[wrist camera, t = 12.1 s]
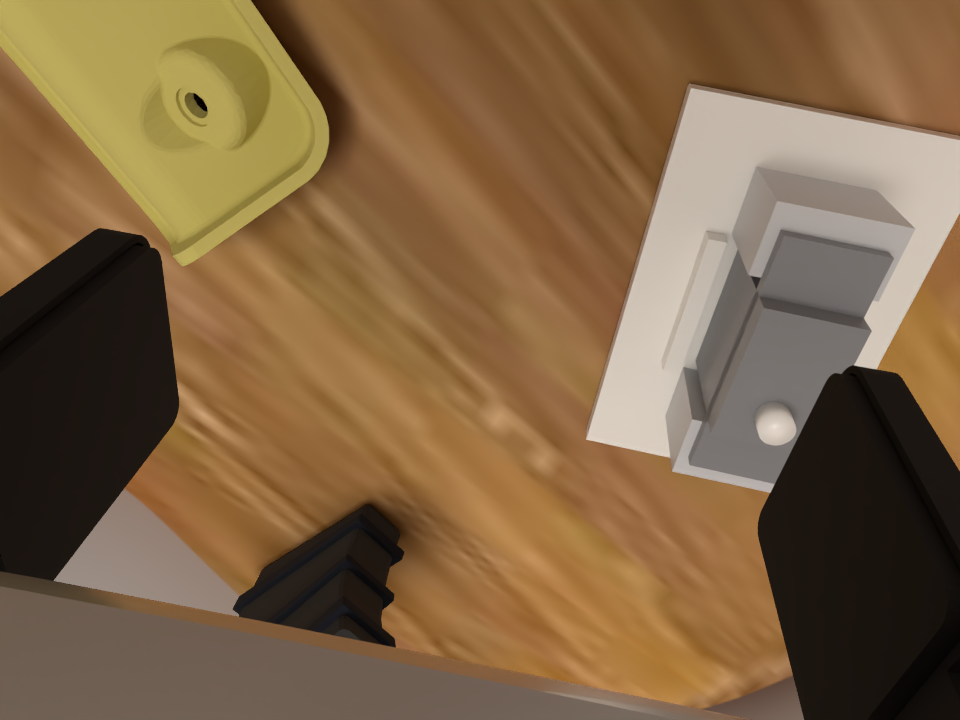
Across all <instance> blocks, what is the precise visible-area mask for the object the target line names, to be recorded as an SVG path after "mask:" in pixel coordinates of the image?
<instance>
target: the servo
mask: <svg viewBox="0 0 960 720" xmlns="http://www.w3.org/2000/svg"><path fill="white" fill-rule="evenodd" d="M893 260H894V258H893V257H892V255H891V254H890V253H889V252H886V251H881V250H876V249H871V248H867V247H862V246H857V245H852V244H847V243H843V242H838V241H833V240H828V239H823V238H818V237H814V236H809V235H804V234H799V233H794V232H789V231H785V230H780V232H779V235H778V237H777V240H776V242H775V245H774V247H773V250H772V252H771V255H770V257H769V259H768V262H767V264H766V267H765V269H764V272H763V274H762V277H761V278H760V277H755V276H750V275H748V273H747V271H746V268H745V266H744V263H743V261H742V258H741V256H740V253H739V251H738V250H737V252H736V255H735V258H734V260H733V263H732V266H731V268H730V271H729V274H728V276H727V279H726V281H725V284H724V287H723V289H722V292H721V295H720V297H719V300H718V303H717V305H716V308H715V310H714V313H713V316H712V318H711V321H710V324H709V326H708V329H707V331H706V334H705V337H704V339H703V342H702V345H701V347H700V350H699V353H698V355H697V358H696V360H695V361H696V365H697V370H698V375H699V380H700V385H701V390H702V395H703V400H704V405H705V410H706V414H705V416H704V419H703V421H702V424H701V426H700V429H699V431H698V434H697V436H696V439H695V441H694V443H693V446H692V448H691V451H690V453H689V456H688V459H689V465H691V466H695V467H700V468H704V469H709V470H713V471H718V472H723V473H727V474H732V475H736V476H741V477H745V478H750V479H754V480H759V481H763V482H768V483H772V484H775V483H776V481H777V479H778V477H779V475H780V473H781V471H782V469H783V467H784V465H785V463H786V461H787V459H788V457H789V455H790V453H791V451H792V449H793V447H794V445H795V443H796V441H797V439H798V437H799V435H800V433H801V431H802V429H803V427H804V425H805V423H806V421H807V419H808V417H809V415H810V413H811V411H812V409H813V407H814V405H815V403H816V401H817V399H818V397H819V395H820V393H821V391H822V389H823V387H824V385H825V383H826V381H827V379H828V378H829V377H830V376H831V375H832V374H834V373H839V374H842V373H843V371H844V370H846V369H847V368H848V367H850V366H852V365H854V364H855V363H856V361H857V359H858V357H859V355H860V353H861V351H862V349H863V347H864V345H865V343H866V341H867V339H868V338H869V336H870V334H871V332H872V330H871V329H870V327H869V326H868V324H867V323H866V321H865V319H864V317H865V315H866V313H867V311H868V309H869V307H870V305H871V303H872V301H873V299H874V297H875V295H876V293H877V291H878V289H879V287H880V285H881V283H882V281H883V280H884V278H885V276H886V274H887V272H888V270H889V268H890V266H891V264H892V262H893Z"/></svg>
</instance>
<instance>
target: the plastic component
mask: <svg viewBox="0 0 960 720" xmlns="http://www.w3.org/2000/svg"><path fill="white" fill-rule="evenodd" d="M0 46H1V47H2V49H3V50H4V51H5V52H6V53H7V54H8V55H9V57H10V58H11V59H12V60H13V61H14V62H15V63H16V64H17V66H18V67H19V68H20V69H21V70H22V71H23V72H24V74H25V75H26V76H27V77H28V78H29V79H30V80H31V82H32V83H33V84H34V85H35V86H36V87H37V88H38V90H39V91H40V92H41V93H42V94H43V95H44V97H45V98H46V99H47V100H48V101H49V102H50V103H51V105H52V106H53V107H54V108H55V109H56V110H57V112H58V113H59V114H60V115H61V116H62V117H63V118H64V120H65V121H66V122H67V123H68V124H69V125H70V127H71V128H72V129H73V130H74V131H75V132H76V133H77V135H78V136H79V137H80V138H81V139H82V140H83V141H84V143H85V144H86V145H87V146H88V147H89V148H90V150H91V151H92V152H93V153H94V154H95V155H96V156H97V158H98V159H99V160H100V161H101V162H102V163H103V165H104V166H105V167H106V168H107V169H108V170H109V171H110V173H111V174H112V175H113V176H114V177H115V178H116V180H117V181H118V182H119V183H120V184H121V185H122V186H123V188H124V189H125V190H126V191H127V192H128V193H129V195H130V196H131V197H132V198H133V199H134V200H135V201H136V203H137V204H138V205H139V206H140V207H141V208H142V209H143V211H144V212H145V213H146V214H147V215H148V217H149V218H150V219H151V220H152V221H153V223H154V224H155V225H156V226H157V227H158V229H159V230H160V231H161V233H162V234H163V235H164V236H165V238H166V239H167V241H168V242H169V244H170V246H171V251H172V256H173V257H174V258H175V259H176V260H177V261H178V263H179V264H180V265H181V266H185V265H187V264H190V263H191V262H193V261H195V260H196V259H198V258H200V257H201V256H202V255H204V254H205V253H207V252H208V251H210V250H211V249H212V248H214V247H215V246H217V245H218V244H219V243H221V242H222V241H224V240H225V239H227V238H228V237H229V236H231V235H232V234H234V233H235V232H237V231H238V230H239V229H241V228H242V227H244V226H245V225H246V224H248V223H249V222H251V221H252V220H254V219H255V218H256V217H258V216H259V215H261V214H262V213H264V212H265V211H266V210H268V209H269V208H271V207H272V206H273V205H275V204H276V203H278V202H279V201H281V200H282V199H283V198H285V197H286V196H288V195H289V194H291V193H292V192H293V191H295V190H296V189H298V188H299V187H300V186H302V185H303V184H305V183H306V182H308V181H309V180H310V179H311V178H312V177H313V176H314V175H315V174H316V172H317V171H318V170H319V169H320V167H321V165H322V163H323V161H324V159H325V157H326V154H327V149H328V145H329V126H328V121H327V117H326V114H325V112H324V109H323V107H322V105H321V102H320V101H319V99H318V98H317V96H316V95H315V94H314V92H313V91H312V89H311V88H310V86H309V85H308V83H307V82H306V80H305V79H304V77H303V76H302V74H301V73H300V72H299V70H298V69H297V67H296V66H295V64H294V63H293V61H292V60H291V58H290V57H289V55H288V54H287V53H286V51H285V50H284V48H283V47H282V45H281V44H280V42H279V41H278V39H277V38H276V36H275V35H274V33H273V32H272V31H271V29H270V28H269V26H268V25H267V23H266V22H265V20H264V19H263V17H262V16H261V14H260V13H259V12H258V10H257V9H256V7H255V6H254V4H253V3H252V1H251V0H0ZM193 93H196V94H197V95H198V96H199V97H200V98H202V99H203V100H204V102H205V104H206V106H207V110H208V112H206V111H203V110H202V109H201V108H200V107H199V106H198V105H197V103H196V101H195V99H194V96H193Z"/></svg>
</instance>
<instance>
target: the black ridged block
mask: <svg viewBox="0 0 960 720" xmlns="http://www.w3.org/2000/svg"><path fill="white" fill-rule="evenodd" d="M399 537H400V533H399V531H398V530H397V529H396V528H395V527H394V526H393V525H391V524H390V523H389V522H388V521H387V520H386V519H385V518H384V517H383V516H382V515H380V514H379V513H378V512H377V511H376V510H375V509H374V508H373V507H372V506H370V505H365V506H364V507H362V508H361V509H359V510H357V511H356V512H354V513H352V514H351V515H349V516H348V517H346V518H344V519H343V520H341V521H340V522H338V523H336V524H335V525H333V526H332V527H330V528H328V529H327V530H325V531H324V532H322V533H320V534H319V535H317V536H315V537H314V538H312V539H311V540H309V541H307V542H306V543H304V544H303V545H301V546H299V547H298V548H296V549H295V550H293V551H291V552H290V553H288V554H287V555H285V556H283V557H282V558H280V559H278V560H277V561H275V562H274V563H272V564H270V565H269V566H267V567H266V568H264V569H263V570H262V571H261V573H260V575H259V577H258V579H257V581H256V583H255V585H254V587H252V588H251V589H249V590H248V591H247V592H245V593H244V594H242V595H241V596H239V598H238V600H237V602H236V604H235V605H234V607H233V610H234V611H235V612H237V613H238V614H239V617H242V618H248V619H253V620H258V621H263V622H268V623H273V624H278V625H283V626H288V627H294V628H299V629H304V630H309V631H314V632H319V633H324V634H329V635H334V636H339V637H344V638H349V639H354V640H359V641H364V642H369V643H375V644H380V645H385V646H390V647H395V648H396V646H395V639H394V638H393V637H392V636H391V635H390V634H389V633H387V632H386V631H385V630H384V629H383V628H382V623H381V616H382V610H383V609H384V608H386V607H387V606H388V605H389V604H390V603H392V602H393V600H394V593H392V592H391V591H390V590H389V589H388V588H387V587H386V581H387V576H388V572H389V568H390V567H391V566H393V565H394V564H396V563H397V562H399V561H400V560H402V558H403V554H404V551H403V550H402V549H401V548H400V547H398V546H397V543H398V540H399Z"/></svg>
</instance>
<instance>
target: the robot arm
mask: <svg viewBox="0 0 960 720" xmlns="http://www.w3.org/2000/svg"><path fill="white" fill-rule="evenodd" d="M178 409H179V396H178V388H177V380H176V372H175V364H174V356H173V348H172V340H171V332H170V324H169V316H168V308H167V300H166V292H165V284H164V276H163V268H162V261H161V256H160V254H159V252H158V250H156V249H155V248H150V244H149V243H148V241H147V239H146V238H145V237H143V236H142V235H136V234H131V233H125V232H120V231H114V230H109V229H102V228H99V229H97V230H94V231H93V232H91V233H90V234H89V235H87V236H86V237H84V238H83V239H82V240H80V241H79V242H77V243H76V244H75V245H73V246H72V247H70V248H69V249H67V250H66V251H65V252H63V253H62V254H60V255H59V256H58V257H56V258H55V259H53V260H52V261H51V262H49V263H48V264H46V265H45V266H43V267H42V268H41V269H39V270H38V271H36V272H35V273H34V274H32V275H31V276H29V277H28V278H26V279H25V280H24V281H22V282H21V283H19V284H18V285H17V286H15V287H14V288H12V289H11V290H10V291H8V292H7V293H5V294H4V295H2V296H1V297H0V720H751V719H746V718H741V717H736V716H731V715H726V714H721V713H716V712H712V711H707V710H702V709H697V708H692V707H687V706H682V705H677V704H673V703H668V702H663V701H658V700H653V699H648V698H643V697H638V696H633V695H628V694H624V693H619V692H614V691H609V690H604V689H599V688H594V687H589V686H584V685H579V684H575V683H570V682H565V681H560V680H555V679H550V678H545V677H540V676H535V675H530V674H525V673H520V672H515V671H510V670H505V669H500V668H495V667H490V666H485V665H480V664H475V663H470V662H465V661H460V660H455V659H450V658H445V657H440V656H435V655H430V654H425V653H420V652H415V651H410V650H405V649H400V648H395V647H390V646H385V645H380V644H375V643H369V642H364V641H359V640H354V639H349V638H344V637H339V636H334V635H329V634H324V633H319V632H314V631H309V630H304V629H299V628H294V627H288V626H283V625H278V624H273V623H268V622H263V621H258V620H253V619H248V618H242V617H237V616H232V615H226V614H221V613H216V612H211V611H206V610H201V609H195V608H191V607H185V606H180V605H175V604H170V603H165V602H159V601H154V600H149V599H143V598H139V597H134V596H128V595H123V594H118V593H113V592H107V591H102V590H97V589H92V588H87V587H81V586H76V585H71V584H66V583H61V582H55V581H53V580H54V579H55V578H56V576H57V575H58V574H59V573H60V571H61V570H62V569H63V567H64V566H65V565H66V564H67V562H68V561H69V560H70V558H71V557H72V556H73V554H74V553H75V552H76V550H77V549H78V548H79V547H80V545H81V544H82V543H83V541H84V540H85V539H86V537H87V536H88V535H89V534H90V532H91V531H92V530H93V528H94V527H95V526H96V524H97V523H98V522H99V520H100V519H101V518H102V516H103V515H104V514H105V513H106V511H107V510H108V509H109V507H110V506H111V505H112V504H113V502H114V501H115V500H116V498H117V497H118V496H119V494H120V493H121V492H122V491H123V489H124V488H125V487H126V485H127V484H128V483H129V481H130V480H131V479H132V477H133V476H134V475H135V474H136V472H137V471H138V470H139V468H140V467H141V466H142V464H143V463H144V462H145V461H146V459H147V458H148V457H149V455H150V454H151V453H152V451H153V450H154V449H155V448H156V446H157V445H158V444H159V442H160V441H161V440H162V438H163V437H164V436H165V434H166V433H167V432H168V431H169V429H170V428H171V427H172V425H173V423H174V422H175V419H176V417H177V413H178ZM758 537H759V542H760V546H761V550H762V554H763V558H764V561H765V565H766V569H767V573H768V577H769V581H770V585H771V589H772V593H773V597H774V601H775V605H776V609H777V613H778V617H779V621H780V625H781V629H782V633H783V637H784V641H785V645H786V649H787V653H788V657H789V661H790V665H791V669H792V673H793V677H794V681H795V685H796V688H797V692H798V696H799V700H800V704H801V708H802V712H803V716H804V720H960V471H959V470H958V468H957V466H956V465H955V463H954V462H953V460H952V458H951V457H950V455H949V453H948V452H947V450H946V449H945V447H944V445H943V444H942V442H941V441H940V439H939V437H938V436H937V434H936V432H935V431H934V429H933V428H932V426H931V424H930V423H929V421H928V420H927V418H926V416H925V415H924V413H923V411H922V410H921V408H920V407H919V405H918V403H917V402H916V400H915V399H914V397H913V395H912V394H911V392H910V390H909V389H908V387H907V386H906V384H905V382H904V381H903V379H902V378H901V377H900V376H899V375H898V374H896V373H893V372H887V371H882V370H876V369H871V368H865V367H860V366H854V365H852V366H850V367H848V368H847V369H846V370H844V371H843V373H842V374H839V373H834V374H832V375H831V376H830V377H829V378H828V379H827V381H826V383H825V385H824V387H823V389H822V391H821V393H820V395H819V397H818V399H817V401H816V403H815V405H814V407H813V409H812V411H811V413H810V415H809V417H808V419H807V421H806V423H805V425H804V427H803V429H802V431H801V433H800V435H799V437H798V439H797V441H796V443H795V445H794V447H793V449H792V451H791V453H790V455H789V457H788V459H787V461H786V463H785V465H784V467H783V469H782V471H781V473H780V475H779V477H778V479H777V481H776V483H775V485H774V487H773V489H772V491H771V493H770V495H769V497H768V499H767V501H766V503H765V505H764V507H763V509H762V511H761V513H760V517H759V521H758Z"/></svg>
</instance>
